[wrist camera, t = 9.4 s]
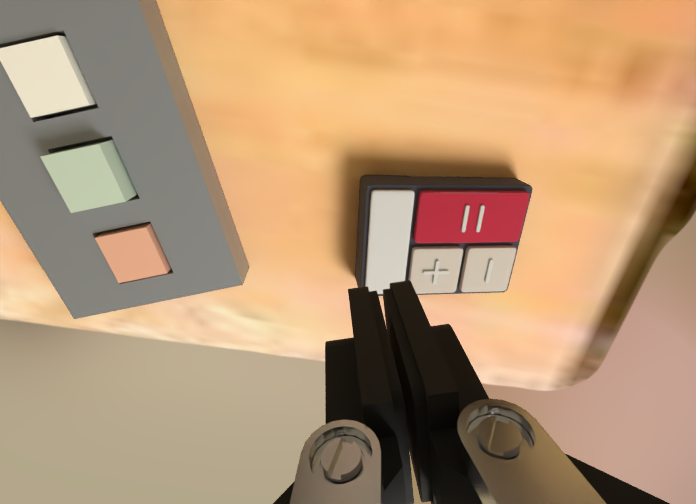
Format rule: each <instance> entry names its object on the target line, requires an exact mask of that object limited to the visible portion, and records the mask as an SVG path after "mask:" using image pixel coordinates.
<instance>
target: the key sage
mask: <svg viewBox="0 0 696 504" xmlns="http://www.w3.org/2000/svg"><path fill="white" fill-rule="evenodd" d="M41 159H42V161H43V163H44V165H45V167H46V168H47V170H48V172H49V174H50V176H51V177H52V179H53V181H54V183H55V185H56V187H57V188H58V190H59V192H60V194H61V196H62V198H63V199H64V201H65V203H66V205H67V207H68V209H69V210H70V212H71V213H74V212H79V211H84V210H88V209H93V208H98V207H103V206H107V205H112V204H117V203H122V202H126V201H128V200H129V199H131V198H132V197H134V196H135V195H137V194H138V193H137V191H136V189H135V187H134V185H133V182H132V180H131V178H130V176H129V174H128V171H127V169H126V167H125V165H124V162H123V160H122V158H121V156H120V154H119V151H118V149H117V147H116V145H115V143H114V140H113V139H112V140H108V141H103V142H98V143H94V144H89V145H84V146H80V147H75V148H71V149H66V150H61V151H58V152H55V153H51V154H48V155H44V156H41Z"/></svg>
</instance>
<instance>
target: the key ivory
mask: <svg viewBox="0 0 696 504" xmlns="http://www.w3.org/2000/svg"><path fill="white" fill-rule="evenodd" d="M0 61H1V63H2V65H3V67H4V69H5V71H6V72H7V74H8V76H9V78H10V80H11V82H12V84H13V86H14V87H15V89H16V91H17V93H18V95H19V97H20V99H21V101H22V102H23V104H24V106H25V108H26V110H27V112H28V114H29V116H30V117H31V118H33V117H40V116H47V115H53V114H58V113H62V112H67V111H72V110H76V109H81V108H85V107H90V106H94V105H97V103H96V101H95V99H94V96H93V94H92V92H91V90H90V88H89V85H88V83H87V81H86V79H85V77H84V74H83V72H82V70H81V68H80V66H79V63H78V61H77V59H76V57H75V54H74V52H73V50H72V48H71V46H70V43H69V41H68V39H67V37H65V36H58V35H57V36H53V37H48V38H44V39H39V40H35V41H30V42H26V43H21V44H17V45H13V46H8V47H4V48H0Z"/></svg>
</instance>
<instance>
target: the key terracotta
mask: <svg viewBox="0 0 696 504" xmlns="http://www.w3.org/2000/svg"><path fill="white" fill-rule="evenodd" d="M95 240H96V241H97V243H98V245H99V247H100V249H101V251H102V253H103V255H104V256H105V258H106V260H107V262H108V264H109V266H110V268H111V270H112V271H113V273H114V275H115V277H116V279H117V281H118V283H122V282H127V281H132V280H137V279H142V278H147V277H151V276H156V275H161V274H166V273H168V272H169V270H170V269H171V266H170V264H169V262H168V259H167V257H166V255H165V253H164V251H163V248H162V246H161V244H160V242H159V240H158V237H157V235H156V233H155V231H154V229H153V226H152V224H151V222H145V223H140V224H136V225H131V226H126V227H121V228H116V229H112V230H107V231H104V232H103V233H101V234H100V235H98V236H97V237H96V238H95Z"/></svg>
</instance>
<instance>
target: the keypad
mask: <svg viewBox="0 0 696 504" xmlns="http://www.w3.org/2000/svg"><path fill="white" fill-rule="evenodd" d="M57 35H58V36H65V37H67V39H68V41H69V43H70V46H71V48H72V50H73V52H74V54H75V57H76V59H77V61H78V63H79V66H80V68H81V70H82V72H83V74H84V77H85V79H86V81H87V83H88V85H89V88H90V90H91V92H92V94H93V96H94V99H95V101H96V103H97V105H94V106H90V107H85V108H81V109H76V110H72V111H67V112H62V113H58V114H53V115H47V116H40V117H33V118H31V117H30V116H29V114H28V112H27V110H26V108H25V106H24V104H23V102H22V101H21V99H20V97H19V95H18V93H17V91H16V89H15V87H14V86H13V84H12V82H11V80H10V78H9V76H8V74H7V72H6V71H5V69H4V67H3V65H2V63H1V61H0V201H1V202H2V204H3V205H4V207H5V209H6V210H7V212H8V213H9V215H10V217H11V218H12V220H13V222H14V223H15V225H16V226H17V228H18V230H19V231H20V233H21V234H22V236H23V238H24V239H25V241H26V242H27V244H28V246H29V247H30V249H31V250H32V252H33V254H34V255H35V257H36V258H37V260H38V262H39V263H40V265H41V266H42V268H43V270H44V271H45V273H46V274H47V276H48V278H49V279H50V281H51V283H52V284H53V286H54V287H55V289H56V291H57V292H58V294H59V295H60V297H61V299H62V300H63V302H64V303H65V305H66V307H67V308H68V310H69V311H70V313H71V315H72V316H73V318H74V319H77V318H82V317H87V316H92V315H96V314H101V313H106V312H111V311H116V310H121V309H126V308H131V307H136V306H141V305H146V304H151V303H155V302H160V301H165V300H170V299H175V298H180V297H185V296H190V295H195V294H200V293H205V292H210V291H214V290H219V289H224V288H229V287H234V286H239V285H243V283H244V280H245V277H246V275H247V272H248V270H249V264H248V262H247V259H246V256H245V253H244V250H243V247H242V244H241V242H240V239H239V236H238V233H237V230H236V227H235V225H234V222H233V219H232V216H231V213H230V210H229V207H228V205H227V202H226V199H225V196H224V193H223V190H222V187H221V185H220V182H219V179H218V176H217V173H216V170H215V167H214V165H213V162H212V159H211V156H210V153H209V150H208V148H207V145H206V142H205V139H204V136H203V133H202V130H201V128H200V125H199V122H198V119H197V116H196V113H195V110H194V108H193V105H192V102H191V99H190V96H189V93H188V91H187V88H186V85H185V82H184V79H183V76H182V73H181V71H180V68H179V65H178V62H177V59H176V56H175V53H174V51H173V48H172V45H171V42H170V39H169V36H168V34H167V31H166V28H165V25H164V22H163V19H162V16H161V14H160V11H159V8H158V5H157V2H156V0H0V48H4V47H8V46H13V45H17V44H21V43H26V42H30V41H35V40H39V39H44V38H48V37H53V36H57ZM112 139H113V140H114V143H115V145H116V147H117V149H118V151H119V154H120V156H121V158H122V160H123V162H124V165H125V167H126V169H127V171H128V174H129V176H130V178H131V180H132V182H133V185H134V187H135V189H136V191H137V193H138V194H137V195H135V196H134V197H132V198H131V199H129V200H128V201H126V202H122V203H117V204H112V205H107V206H103V207H98V208H93V209H88V210H84V211H79V212H74V213H71V212H70V210H69V209H68V207H67V205H66V203H65V201H64V199H63V198H62V196H61V194H60V192H59V190H58V188H57V187H56V185H55V183H54V181H53V179H52V177H51V176H50V174H49V172H48V170H47V168H46V167H45V165H44V163H43V161H42V159H41V156H44V155H48V154H51V153H55V152H58V151H61V150H66V149H71V148H75V147H80V146H84V145H89V144H94V143H98V142H103V141H108V140H112ZM145 222H151V224H152V226H153V229H154V231H155V233H156V235H157V237H158V240H159V242H160V244H161V246H162V248H163V251H164V253H165V255H166V257H167V259H168V262H169V264H170V266H171V269H170V270H169V272H168V273H166V274H161V275H156V276H151V277H147V278H142V279H137V280H132V281H127V282H122V283H118V281H117V279H116V277H115V275H114V273H113V271H112V270H111V268H110V266H109V264H108V262H107V260H106V258H105V256H104V255H103V253H102V251H101V249H100V247H99V245H98V243H97V241H96V240H95V238H96V237H97V236H98V235H100V234H101V233H103V232H104V231H107V230H112V229H116V228H121V227H126V226H131V225H136V224H140V223H145Z"/></svg>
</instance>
